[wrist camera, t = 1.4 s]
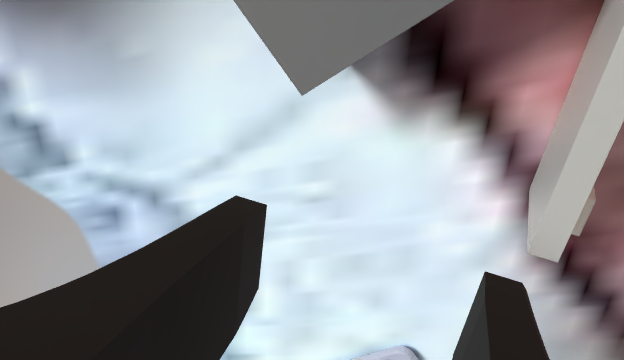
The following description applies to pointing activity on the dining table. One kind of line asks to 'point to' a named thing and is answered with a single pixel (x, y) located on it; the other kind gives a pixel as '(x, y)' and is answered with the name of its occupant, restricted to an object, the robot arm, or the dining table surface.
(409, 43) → the dining table surface
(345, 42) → the grey switch box
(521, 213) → the dining table surface
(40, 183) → the dining table surface
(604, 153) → the side door
